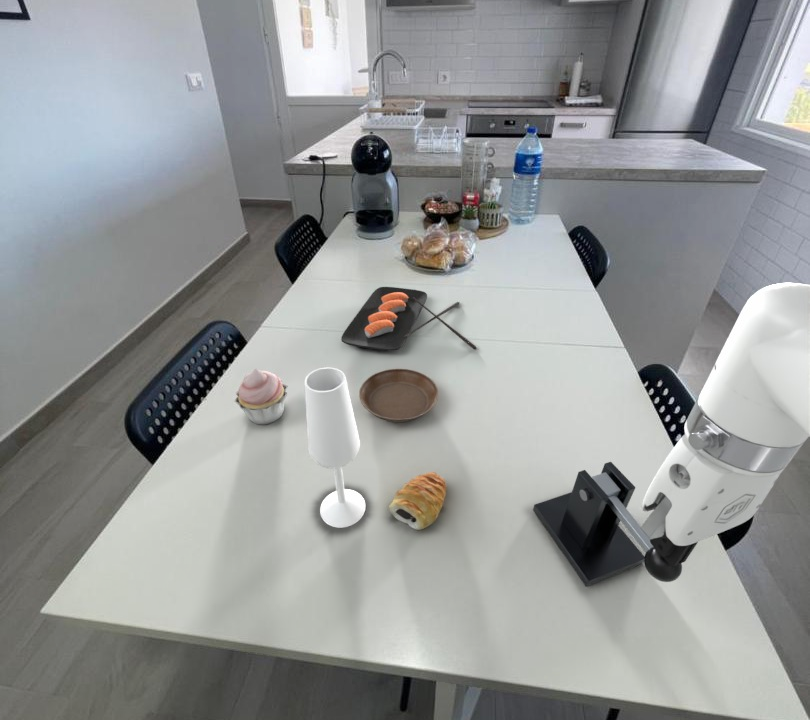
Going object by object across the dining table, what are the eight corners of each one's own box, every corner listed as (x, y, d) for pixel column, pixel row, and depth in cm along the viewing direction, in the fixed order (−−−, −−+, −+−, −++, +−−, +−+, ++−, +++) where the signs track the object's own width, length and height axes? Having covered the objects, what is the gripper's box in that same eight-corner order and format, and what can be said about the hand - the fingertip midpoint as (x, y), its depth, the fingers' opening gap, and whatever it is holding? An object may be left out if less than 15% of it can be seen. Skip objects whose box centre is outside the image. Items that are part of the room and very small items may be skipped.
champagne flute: (356, 532, 62) (341, 402, 48) (312, 521, 64) (285, 392, 50) (372, 494, 68) (362, 367, 54) (331, 484, 69) (311, 358, 55)
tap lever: (681, 581, 49) (695, 566, 47) (655, 592, 48) (668, 577, 46) (603, 484, 59) (611, 467, 56) (580, 491, 58) (588, 475, 55)
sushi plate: (378, 291, 122) (377, 278, 120) (488, 305, 116) (489, 291, 114) (337, 348, 100) (335, 334, 98) (470, 369, 93) (472, 354, 91)
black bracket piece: (643, 563, 58) (674, 507, 52) (585, 586, 56) (610, 531, 49) (583, 492, 68) (603, 437, 61) (532, 510, 65) (547, 454, 58)
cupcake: (297, 397, 86) (289, 355, 80) (284, 432, 79) (274, 387, 73) (250, 395, 87) (239, 353, 81) (232, 429, 79) (218, 385, 73)
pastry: (419, 472, 71) (420, 456, 69) (457, 492, 68) (459, 475, 66) (385, 515, 65) (385, 498, 62) (425, 538, 62) (426, 522, 59)
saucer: (445, 386, 89) (446, 375, 87) (426, 437, 77) (426, 426, 76) (376, 373, 92) (375, 362, 91) (347, 420, 81) (346, 409, 79)
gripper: (711, 490, 32) (636, 611, 43) (850, 438, 36) (749, 561, 47) (636, 422, 38) (585, 543, 49) (762, 384, 42) (690, 504, 53)
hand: (666, 552), depth 48 cm, fingers closed
